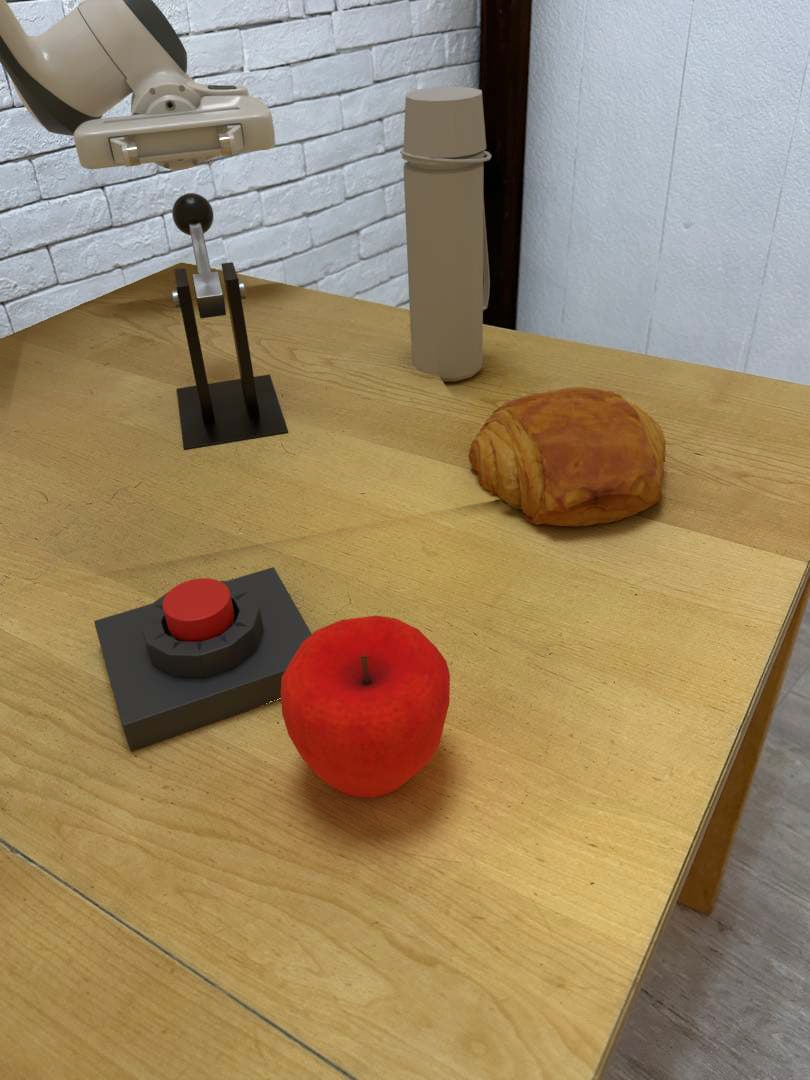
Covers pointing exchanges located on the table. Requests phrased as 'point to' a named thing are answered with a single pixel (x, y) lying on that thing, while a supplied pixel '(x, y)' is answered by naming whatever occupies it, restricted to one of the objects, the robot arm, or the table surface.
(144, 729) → the button box
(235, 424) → the bracket
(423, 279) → the water bottle
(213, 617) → the button
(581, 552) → the table surface
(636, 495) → the croissant
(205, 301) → the lever
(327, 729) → the apple
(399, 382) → the table surface
